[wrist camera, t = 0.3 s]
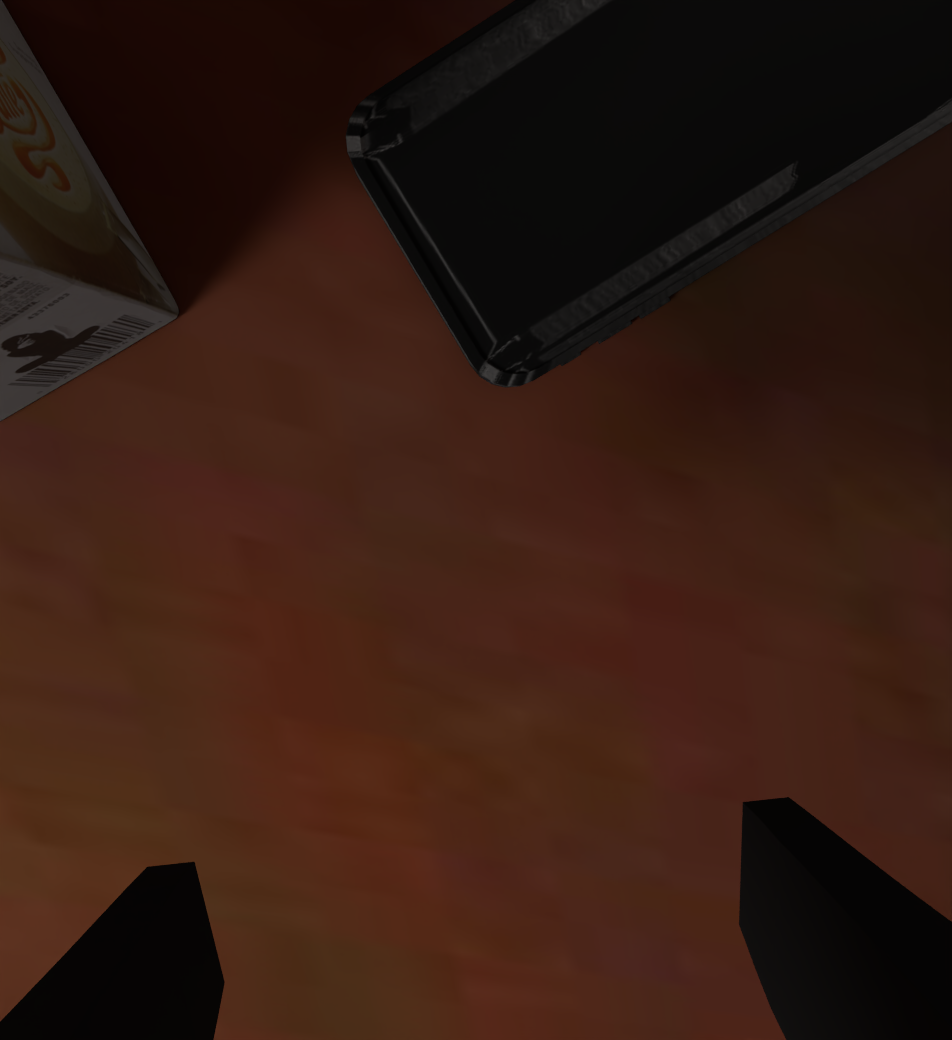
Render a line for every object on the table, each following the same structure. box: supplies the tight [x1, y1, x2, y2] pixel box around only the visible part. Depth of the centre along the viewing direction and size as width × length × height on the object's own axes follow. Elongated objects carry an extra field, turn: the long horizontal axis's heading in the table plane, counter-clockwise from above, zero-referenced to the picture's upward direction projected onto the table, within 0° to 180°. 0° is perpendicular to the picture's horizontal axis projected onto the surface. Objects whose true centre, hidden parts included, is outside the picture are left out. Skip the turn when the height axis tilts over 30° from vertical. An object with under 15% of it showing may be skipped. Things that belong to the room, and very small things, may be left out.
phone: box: [346, 0, 952, 387], centre depth 18 cm, size 8×1×15 cm
